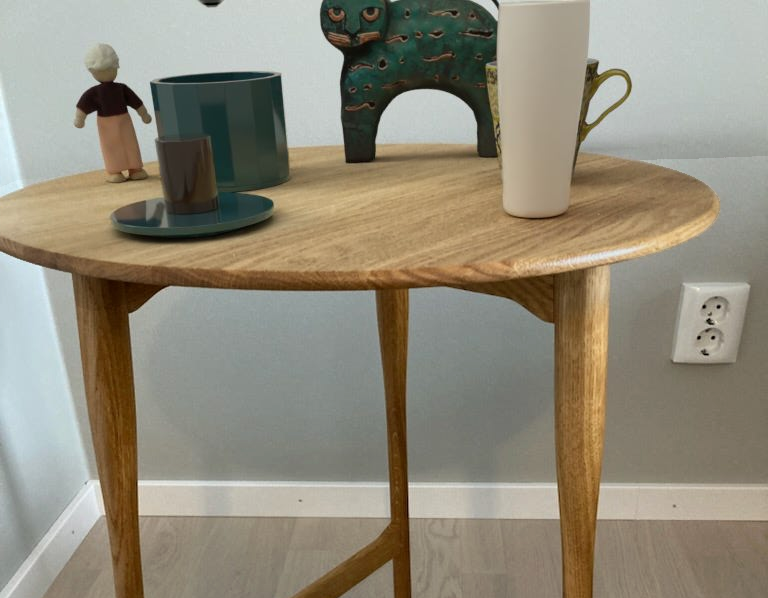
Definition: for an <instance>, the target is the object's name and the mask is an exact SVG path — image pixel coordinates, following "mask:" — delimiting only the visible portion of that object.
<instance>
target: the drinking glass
mask: <svg viewBox="0 0 768 598" xmlns="http://www.w3.org/2000/svg"><path fill="white" fill-rule="evenodd" d="M497 11H498V10H497ZM497 13H498V14H497V21H498V26H497V84H498V102H499V119H500V137H501V155H502V176H503V181H502V203H501V204H502V209H503V211H504V212H505V213H506V214H508V215H511V216H513V217H518V218H527V219H542V218H543V219H545V218H553V217H556V216H557V217H558V216H559V215H562V214H564V213H565V212H566V211H567V210H568V208H569V206H570V198H571V197H570V196H571V182H572V179H571V176H572V168H573V160H574V153H575V146H576V139H577V132H578V124H579V117H580V110H581V103H582V97H583V90H584V83H585V75H586V67H587V58H589V45H590V44H589V43H590V25H591V24H590V23H591V21H590V20H591V0H523V1H522V0H521V1H507V2H506V1H505V2H500V3H499V11H498V12H497Z"/></svg>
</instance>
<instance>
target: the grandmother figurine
mask: <svg viewBox="0 0 768 598" xmlns="http://www.w3.org/2000/svg"><path fill="white" fill-rule="evenodd" d="M84 66H85V67H86V70H87V71H88V73H90V74H91V76H92V77H93V79H94V80H96V81H97V82H98V83H99V84H95V85H93V86H91V87H89V88H88V89H86V90H85V91H84V92H83V93H82V95H81V96H80V98H79V99H78V101H77V103H76V105H75V107H76V110H75V118H74V119H73V125H74V127H75V128H77V129H83V128H85V124H86V122H85V121H86V120H87V117H88V115H91V114H94V113H96V127H97V133H98V138H99V145H100V150H101V154H102V159H103V162H104V166H105V170H106V175H105V178H104V181H105V182H108V183H122V182H125V181H127V177H125V175H124V174H123V172H125V171H128V177H129V179H131V180H144V179H146V178H147V177H148V172H147V171H146V169H145V168H144V163H143V159H142V158H143V157H142V153H141V149H140V144H139V141H138V137H137V133H136V129H135V126H134V123H133V119H132V116H131V114H130V111H129V108H128V107H130V108H131V109H133V110H134V111H135V112H136V114H137V115H138V116H139V117H140V118H141V119H140V120H141V121H142V123H143V124H145V125H149V124H151V123H152V122H153V117H152V116H151V114H150V113H149V112H148V110H147V107H146V106H145V104H144V101H143V100H142V99H141V98H140V97H139V95H137V93H136V92H135V91H134V89H132V88H131V87H130V86H128V85H127V84H126V83H124V82H117V81H115V80H116V78H117V77H118V69H120V58H119V56H118V54H117V53H116V51H115V49H114V48H113V46H112V45H109V44H108V43H100V42H99V43H97V44H94V45H92V46H91V48H89V49H88V50H87V52H86V54H85V57H84Z"/></svg>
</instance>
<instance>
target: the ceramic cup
mask: <svg viewBox="0 0 768 598" xmlns="http://www.w3.org/2000/svg"><path fill="white" fill-rule="evenodd" d="M599 64H600V60H598V59H596V58H590V57H588V58H587V67H586V75H585V83H584V90H583V97H582V103H581V110H580V117H579V124H578V132H577V139H576V146H575V153H574V160H573V168H572V176H571V180H572V179H573V177H574V174H575V169H576V165H577V160H578V155H579V152H580V151H579V150H580V148H581V145H582V143H583V142H585V140H586V138H587V136H588V135H589V133H590V132H591V131H592V130H593V129H594V128H596V127H597V126H599V124H600V123H601V122H602V121H603V120H604V119H605V118H606V117H607V116H608V115H609V114H611V113H612V112H613V111H615V110H617V108H619V107H620V106H621V105H622V104H624V102H626V100H627V99H628V98H629V96H630V94H631V93H632V88H633V82H632V78H631V77H630V75H629V73H628V72H627V71H625V70H624V69H622V68H610V69H607V70H605V71H603V72H601V73H600V74H599V73H598V69H599V66H600V65H599ZM614 76H620V77H621V78H624V80H625V81H626V92H625V93H624V95H623V96H622V97H621V98H620V99H618V100H617V101H616V102H615V103H614V104H612V105H610V106H609V107H608V108H607V109H605V110H604V111H603V112H602V113H601V114H600V115H599V116H598V117H597V119H596V120H594V121H593V122H592V123H588V122H587V121H586V120H587V116H588V113H589V109H590V103H591V100H593V97H594V96H595V94H596V92H597V91H598V90H599V88H600V86H601V85H602V84H603V83H604V82H606V81H607V80H608V79H610V78H611V77H614ZM486 77H487V87H488V94H489V101H490V107H491V112H492V117H493V123H494V132H495V139H496V146H497V153H498V156H497V160H498V169H499V176H500V179H501V182H503V176H502V155H501V137H500V119H499V102H498V84H497V61H495V62H490V63H487V64H486Z"/></svg>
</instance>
